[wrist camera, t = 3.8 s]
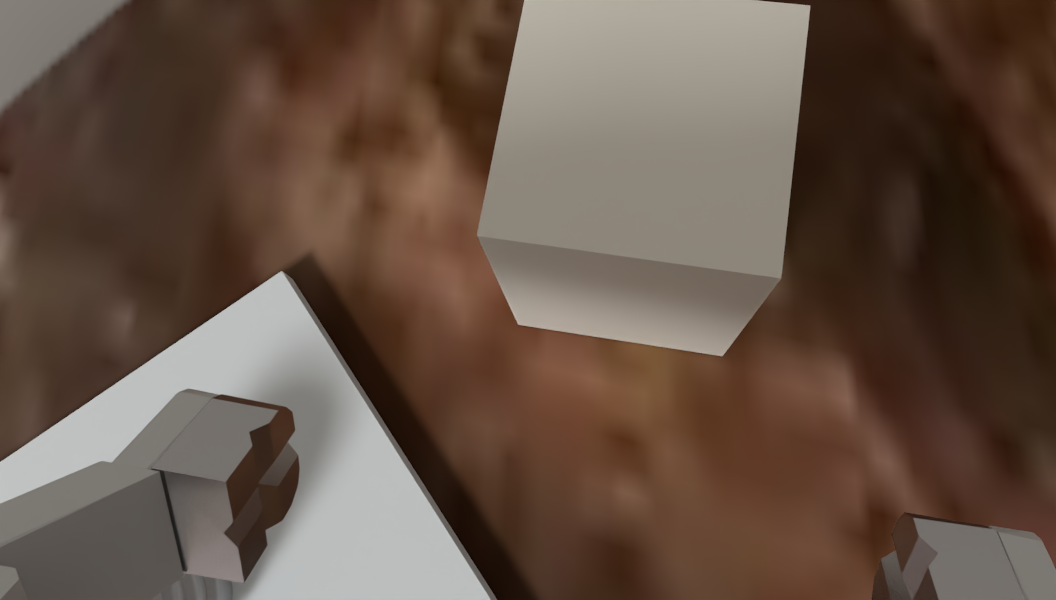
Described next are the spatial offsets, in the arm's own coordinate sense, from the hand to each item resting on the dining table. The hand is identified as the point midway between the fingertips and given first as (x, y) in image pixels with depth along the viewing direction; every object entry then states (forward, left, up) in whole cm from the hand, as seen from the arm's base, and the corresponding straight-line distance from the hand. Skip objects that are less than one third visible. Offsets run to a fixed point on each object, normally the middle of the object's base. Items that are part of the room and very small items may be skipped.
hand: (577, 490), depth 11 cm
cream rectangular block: (-5, -5, -10) cm, 13 cm away
